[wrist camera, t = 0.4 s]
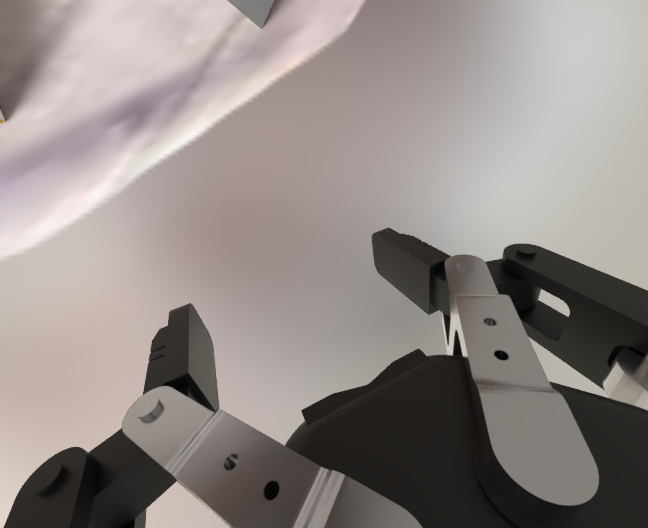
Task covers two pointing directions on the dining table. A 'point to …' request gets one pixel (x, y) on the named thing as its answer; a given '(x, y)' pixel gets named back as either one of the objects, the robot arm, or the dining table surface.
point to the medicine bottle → (1, 118)
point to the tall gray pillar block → (254, 9)
